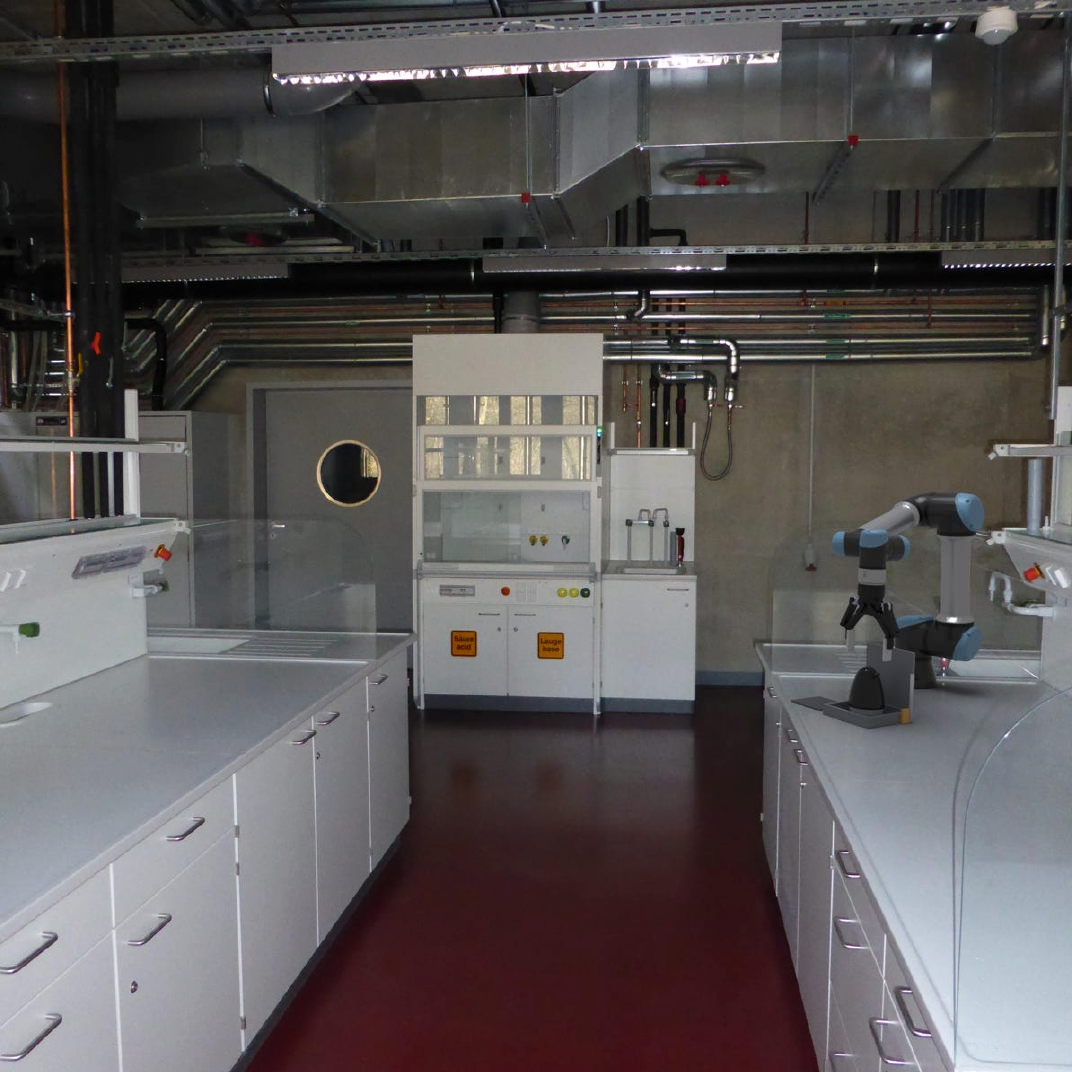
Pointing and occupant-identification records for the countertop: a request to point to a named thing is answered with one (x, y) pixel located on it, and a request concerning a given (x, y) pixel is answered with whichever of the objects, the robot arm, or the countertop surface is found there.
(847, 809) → the countertop surface
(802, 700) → the pad
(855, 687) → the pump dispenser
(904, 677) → the case
